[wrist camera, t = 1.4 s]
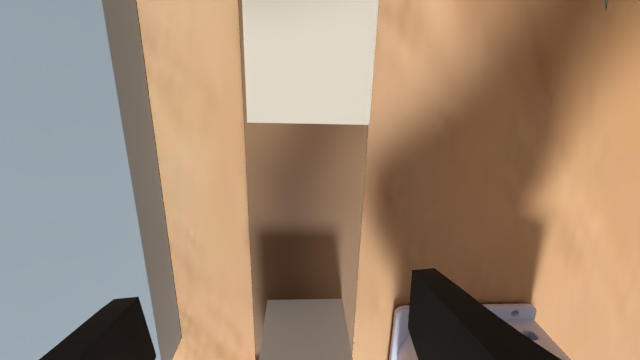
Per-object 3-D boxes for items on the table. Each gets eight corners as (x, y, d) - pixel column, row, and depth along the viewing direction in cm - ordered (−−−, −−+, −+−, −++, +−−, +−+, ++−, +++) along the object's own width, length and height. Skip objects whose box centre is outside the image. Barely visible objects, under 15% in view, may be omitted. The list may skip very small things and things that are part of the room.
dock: (128, -53, 15) (88, -81, 12) (181, 337, 22) (163, 378, 19) (-111, -64, 14) (-213, -96, 11) (22, 341, 21) (-21, 383, 18)
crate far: (341, 298, 16) (352, 360, 13) (338, 356, 17) (347, 426, 14) (267, 299, 16) (258, 362, 13) (269, 358, 17) (261, 429, 14)
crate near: (357, 10, 12) (379, -12, 9) (351, 110, 13) (369, 124, 10) (258, 6, 12) (240, -18, 9) (261, 108, 13) (247, 122, 10)
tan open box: (357, -5, 16) (386, -42, 11) (340, 313, 22) (353, 393, 17) (254, -9, 16) (230, -49, 11) (265, 314, 22) (253, 396, 17)
